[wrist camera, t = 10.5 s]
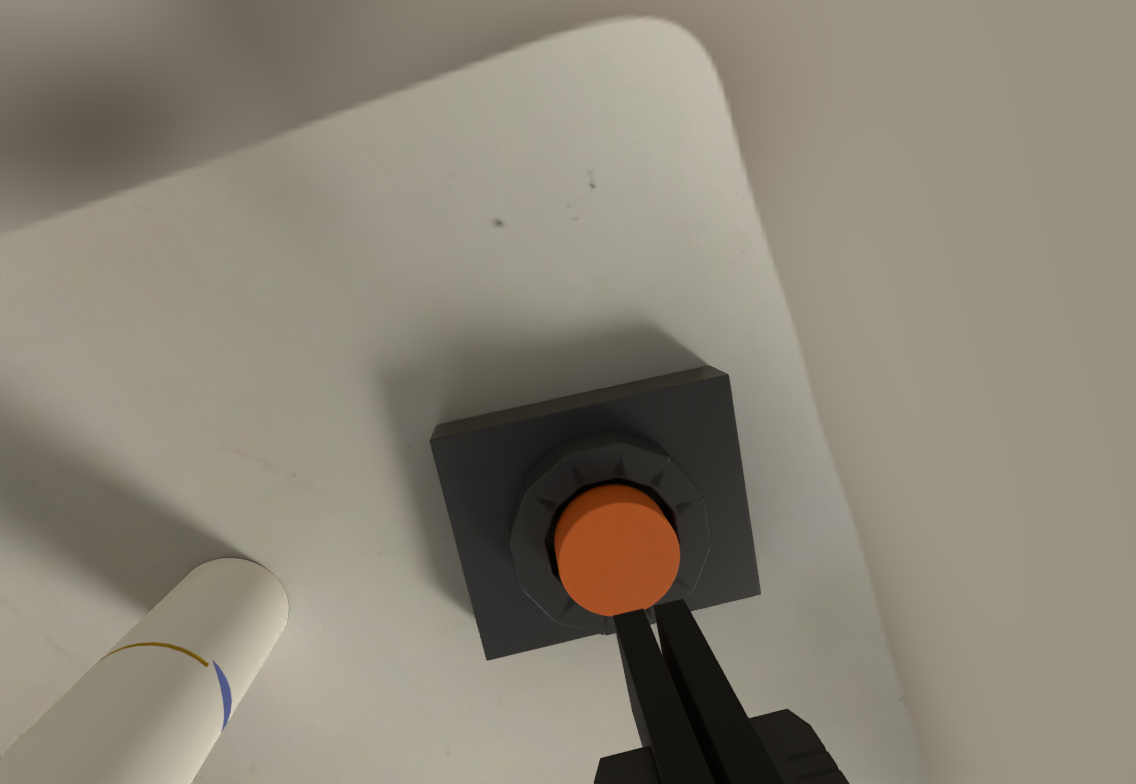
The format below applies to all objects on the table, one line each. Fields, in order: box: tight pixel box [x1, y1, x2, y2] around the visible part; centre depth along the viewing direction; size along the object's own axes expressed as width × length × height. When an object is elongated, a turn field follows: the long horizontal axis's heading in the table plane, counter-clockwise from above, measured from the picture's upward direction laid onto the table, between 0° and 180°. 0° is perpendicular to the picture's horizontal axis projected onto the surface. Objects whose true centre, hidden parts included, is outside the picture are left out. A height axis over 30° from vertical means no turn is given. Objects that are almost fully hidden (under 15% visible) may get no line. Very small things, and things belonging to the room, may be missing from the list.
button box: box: [430, 365, 761, 661], centre depth 23 cm, size 11×9×4 cm
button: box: [554, 484, 680, 616], centre depth 21 cm, size 4×4×2 cm
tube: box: [0, 558, 289, 784], centre depth 17 cm, size 4×4×15 cm
